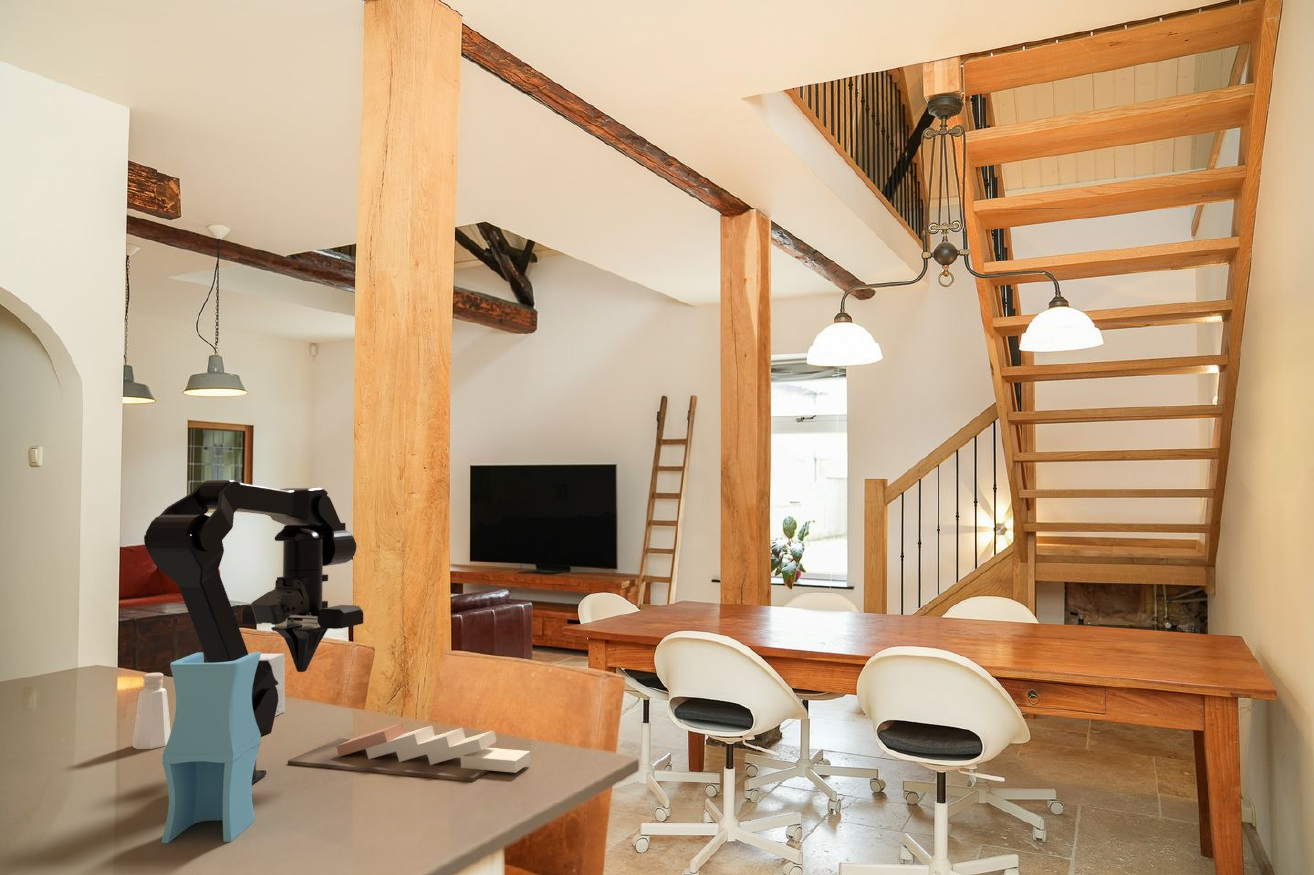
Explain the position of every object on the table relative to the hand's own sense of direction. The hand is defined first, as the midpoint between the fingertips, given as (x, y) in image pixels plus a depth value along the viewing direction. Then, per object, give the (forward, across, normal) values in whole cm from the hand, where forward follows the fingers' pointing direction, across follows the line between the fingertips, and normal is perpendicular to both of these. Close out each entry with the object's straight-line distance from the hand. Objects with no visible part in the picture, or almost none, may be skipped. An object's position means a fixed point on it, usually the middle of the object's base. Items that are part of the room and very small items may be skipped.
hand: (301, 671), depth 139 cm
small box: (+12, -23, +15) cm, 30 cm away
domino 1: (+11, +13, +1) cm, 17 cm away
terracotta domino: (+11, +8, 0) cm, 14 cm away
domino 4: (+11, +28, +2) cm, 30 cm away
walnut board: (+12, +17, +1) cm, 21 cm away
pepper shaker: (+12, -25, -4) cm, 28 cm away
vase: (+12, +12, -29) cm, 34 cm away
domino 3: (+11, +23, +1) cm, 26 cm away
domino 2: (+11, +18, +1) cm, 21 cm away
